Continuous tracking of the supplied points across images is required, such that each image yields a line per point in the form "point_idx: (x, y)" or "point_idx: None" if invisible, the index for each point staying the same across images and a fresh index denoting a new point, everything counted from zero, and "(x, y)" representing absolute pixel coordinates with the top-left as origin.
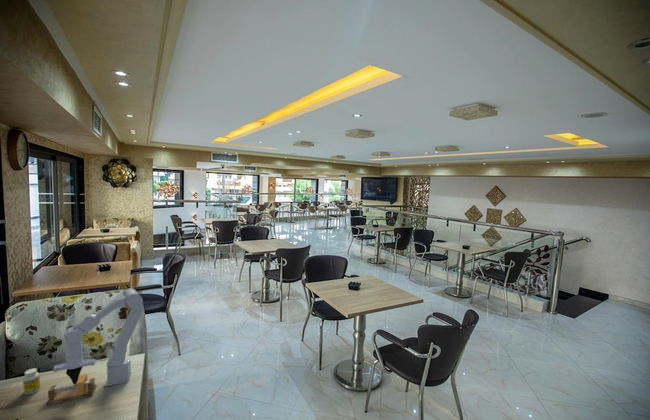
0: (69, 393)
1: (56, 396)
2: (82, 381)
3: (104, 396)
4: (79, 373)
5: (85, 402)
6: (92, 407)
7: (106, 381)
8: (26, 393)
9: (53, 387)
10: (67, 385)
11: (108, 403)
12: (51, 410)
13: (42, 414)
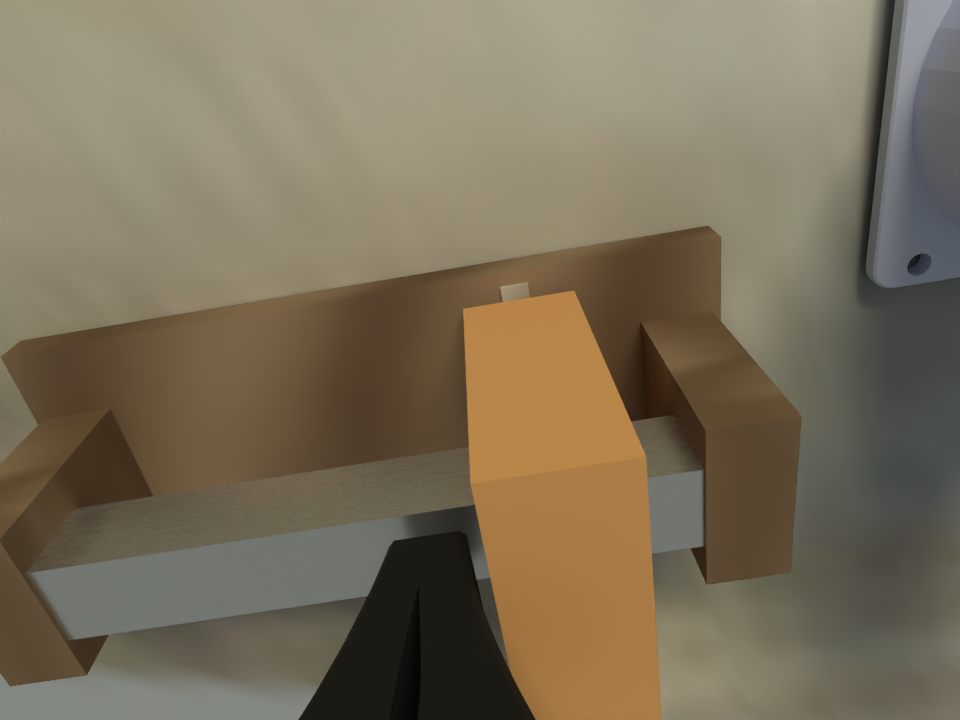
0: (332, 421)
1: (156, 461)
2: (647, 716)
3: (889, 504)
4: (508, 696)
5: (660, 575)
6: (775, 657)
7: (896, 155)
8: None
9: (13, 603)
10: (282, 574)
11: (954, 624)
12: (290, 644)
13: (227, 684)
